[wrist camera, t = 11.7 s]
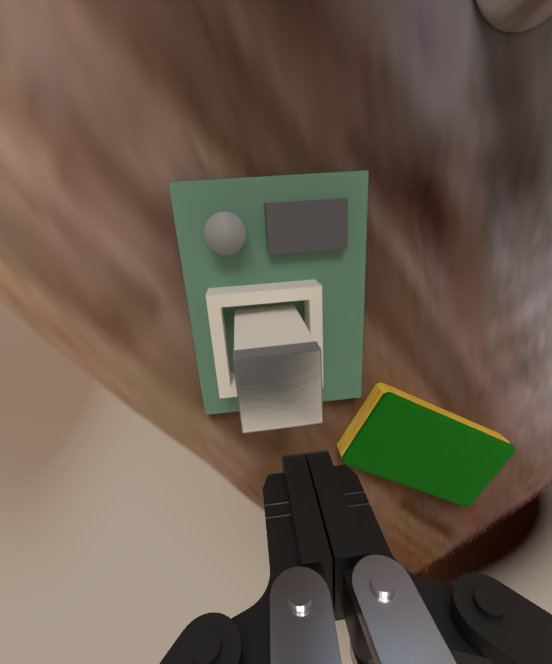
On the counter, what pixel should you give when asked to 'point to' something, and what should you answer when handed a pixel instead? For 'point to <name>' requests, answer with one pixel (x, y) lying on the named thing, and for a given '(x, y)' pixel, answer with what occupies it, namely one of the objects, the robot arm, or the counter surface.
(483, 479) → the dish sponge
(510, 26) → the beer glass
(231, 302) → the board
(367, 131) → the counter surface
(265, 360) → the plug
